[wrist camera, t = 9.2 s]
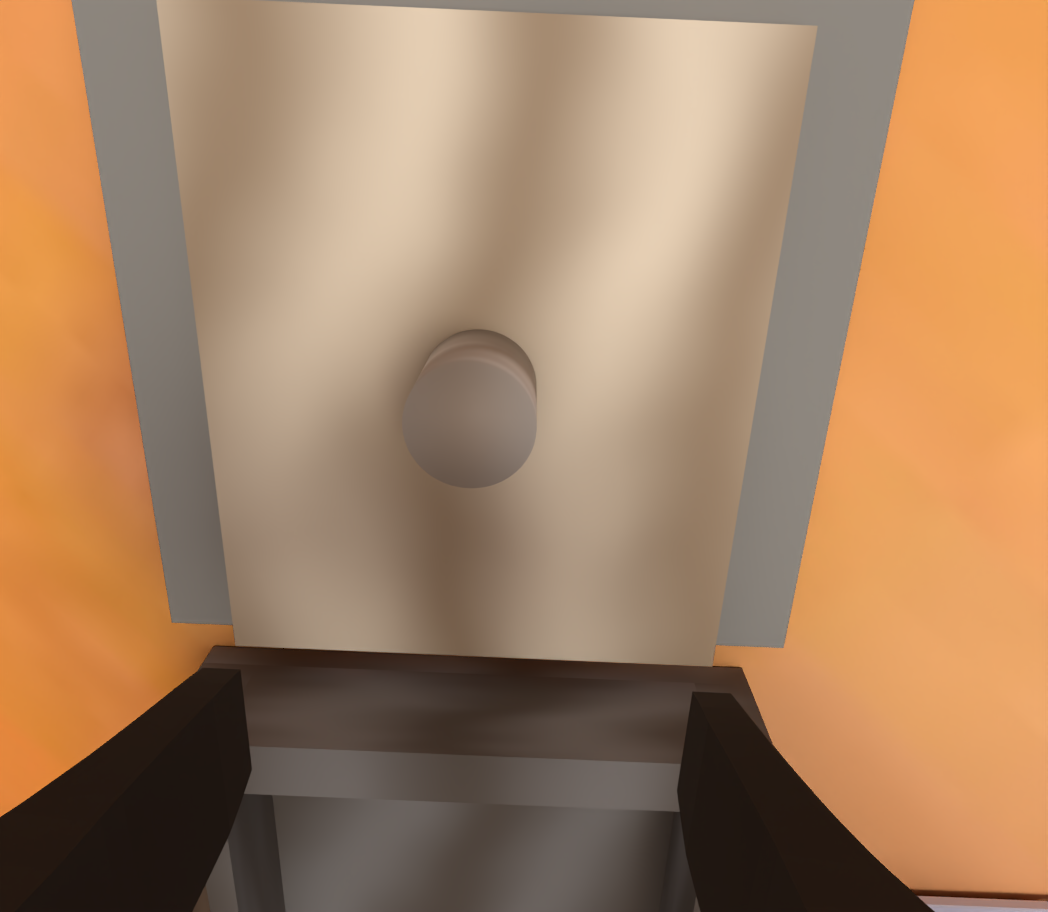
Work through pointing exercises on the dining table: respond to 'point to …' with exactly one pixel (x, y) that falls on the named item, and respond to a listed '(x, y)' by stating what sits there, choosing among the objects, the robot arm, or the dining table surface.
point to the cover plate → (480, 316)
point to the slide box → (460, 784)
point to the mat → (793, 332)
